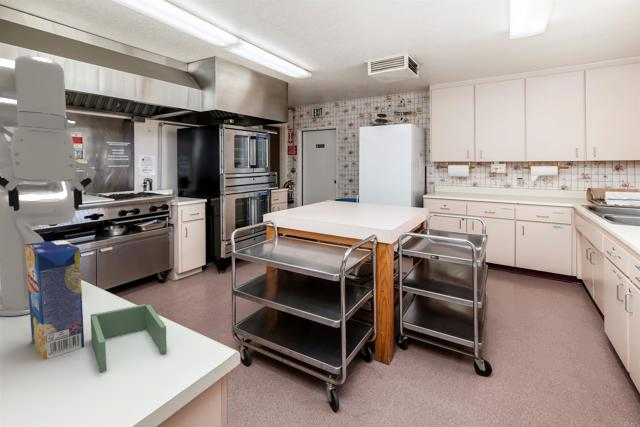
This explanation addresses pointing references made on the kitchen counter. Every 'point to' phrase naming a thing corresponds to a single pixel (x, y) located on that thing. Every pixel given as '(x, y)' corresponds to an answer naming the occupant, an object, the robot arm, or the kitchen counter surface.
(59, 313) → the beverage box
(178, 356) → the kitchen counter surface
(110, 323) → the mount bracket
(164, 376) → the kitchen counter surface
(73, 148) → the robot arm
